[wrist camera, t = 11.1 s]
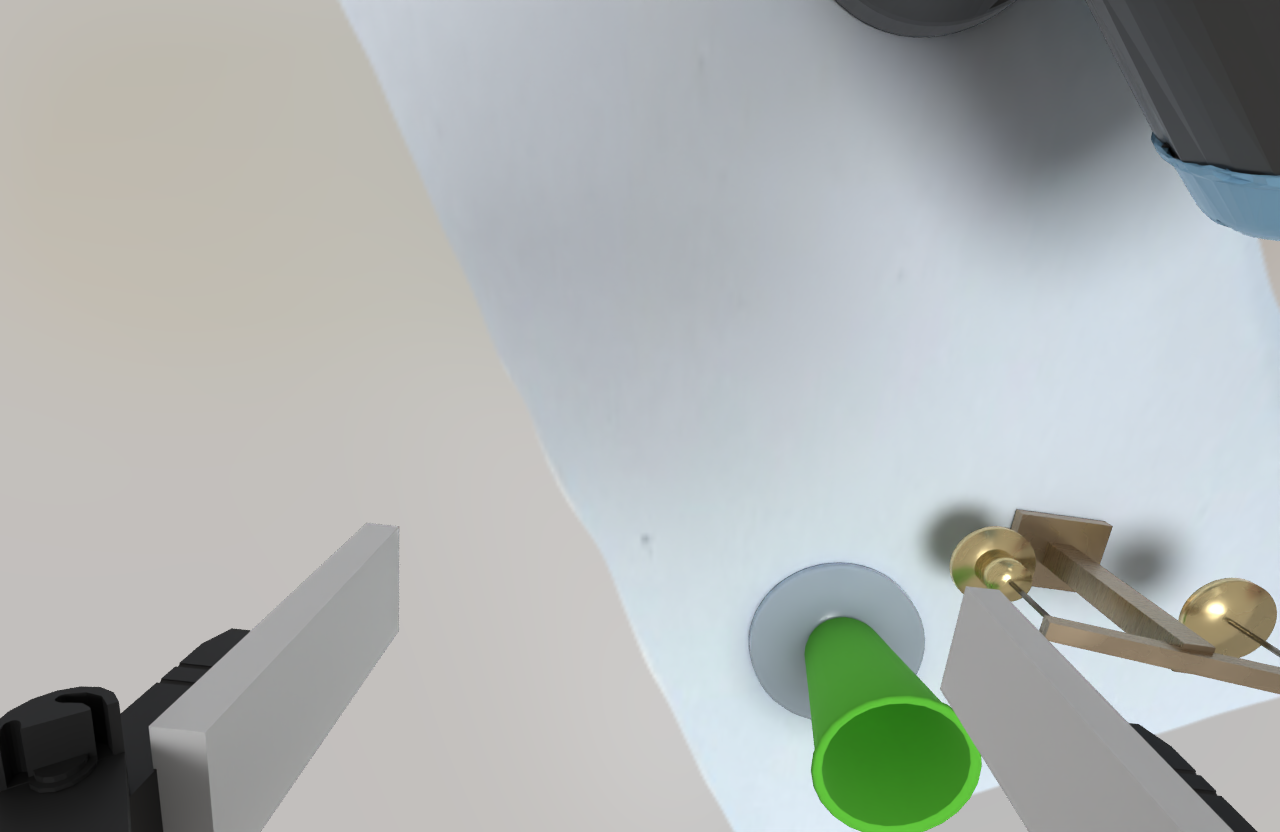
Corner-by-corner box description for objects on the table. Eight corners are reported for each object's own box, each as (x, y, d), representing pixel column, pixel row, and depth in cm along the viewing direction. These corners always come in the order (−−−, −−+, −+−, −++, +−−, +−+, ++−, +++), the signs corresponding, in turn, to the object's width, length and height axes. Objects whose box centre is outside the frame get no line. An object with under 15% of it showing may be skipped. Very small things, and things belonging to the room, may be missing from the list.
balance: (917, 565, 45) (1034, 707, 31) (935, 498, 44) (1065, 614, 30) (1160, 598, 45) (1386, 754, 31) (1185, 532, 44) (1431, 663, 30)
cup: (887, 712, 47) (956, 849, 36) (763, 692, 47) (795, 824, 36) (922, 601, 45) (1005, 712, 34) (791, 580, 44) (834, 684, 34)
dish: (765, 551, 45) (767, 558, 44) (937, 575, 45) (943, 582, 44) (736, 700, 48) (737, 709, 47) (897, 722, 48) (902, 731, 47)
